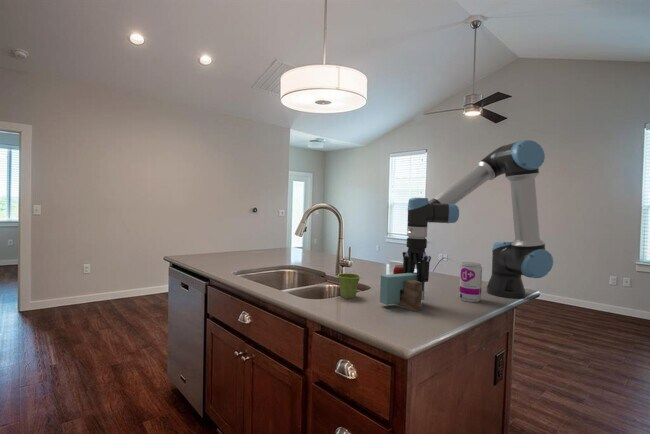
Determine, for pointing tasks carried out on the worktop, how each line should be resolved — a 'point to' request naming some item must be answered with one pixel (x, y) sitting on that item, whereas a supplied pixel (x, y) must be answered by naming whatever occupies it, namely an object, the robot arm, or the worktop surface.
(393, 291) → the teal tunnel brick
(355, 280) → the plant pot
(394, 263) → the cylinder with rectangular tab
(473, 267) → the supplement can
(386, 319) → the worktop surface
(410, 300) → the brown wooden notched block
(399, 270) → the beverage can
